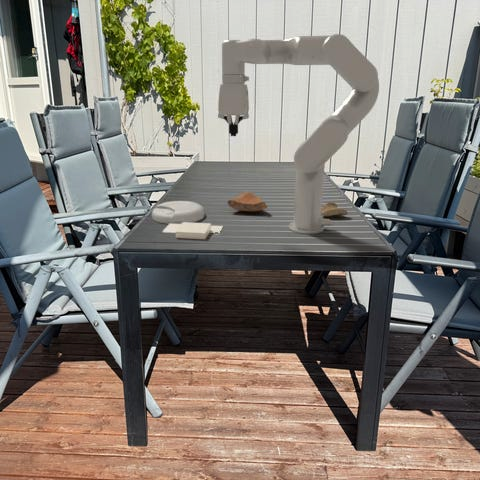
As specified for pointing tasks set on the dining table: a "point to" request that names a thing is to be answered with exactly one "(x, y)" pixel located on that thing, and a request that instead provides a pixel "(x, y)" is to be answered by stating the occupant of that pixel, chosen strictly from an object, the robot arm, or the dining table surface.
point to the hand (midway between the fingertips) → (233, 135)
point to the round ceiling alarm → (178, 212)
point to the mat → (173, 227)
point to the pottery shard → (332, 210)
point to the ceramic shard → (247, 202)
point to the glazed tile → (193, 230)
